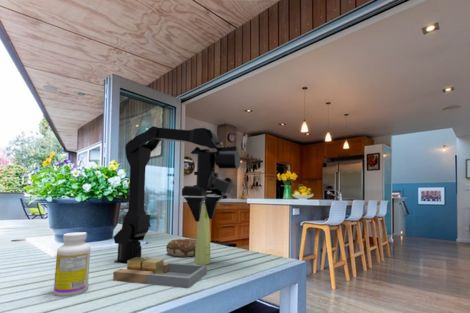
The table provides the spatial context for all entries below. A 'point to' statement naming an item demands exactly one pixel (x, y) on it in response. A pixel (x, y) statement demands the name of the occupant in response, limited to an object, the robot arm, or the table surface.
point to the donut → (182, 247)
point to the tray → (178, 275)
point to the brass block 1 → (135, 263)
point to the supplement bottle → (72, 265)
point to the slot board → (135, 275)
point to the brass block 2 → (153, 265)
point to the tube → (203, 238)
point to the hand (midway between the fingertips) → (204, 220)
